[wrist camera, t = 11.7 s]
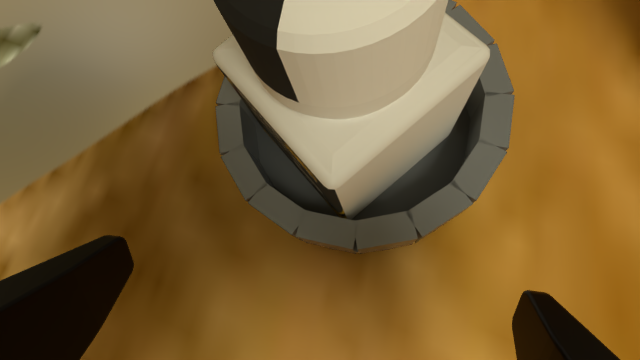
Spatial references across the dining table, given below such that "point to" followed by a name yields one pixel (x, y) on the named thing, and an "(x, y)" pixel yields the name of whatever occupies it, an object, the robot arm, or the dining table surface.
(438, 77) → the medicine bottle
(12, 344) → the robot arm
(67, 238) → the dining table surface
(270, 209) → the round dish
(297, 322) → the dining table surface
